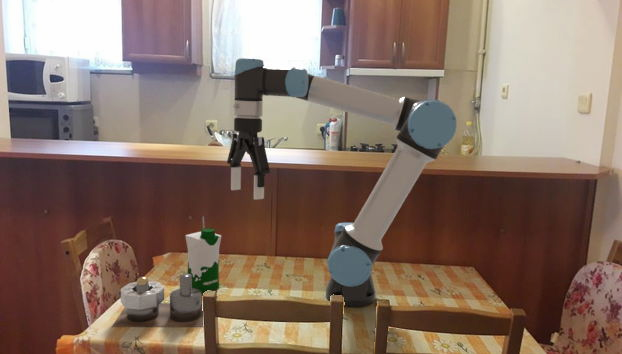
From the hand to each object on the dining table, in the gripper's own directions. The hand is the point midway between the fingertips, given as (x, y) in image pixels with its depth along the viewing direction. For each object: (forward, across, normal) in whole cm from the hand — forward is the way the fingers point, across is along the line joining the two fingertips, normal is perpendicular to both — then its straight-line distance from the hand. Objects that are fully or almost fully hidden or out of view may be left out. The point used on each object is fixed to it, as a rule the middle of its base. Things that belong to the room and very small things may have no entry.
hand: (246, 194), depth 134 cm
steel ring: (+27, -5, -28) cm, 39 cm away
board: (+32, -2, -22) cm, 39 cm away
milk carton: (+33, -14, -7) cm, 36 cm away
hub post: (+31, -5, -28) cm, 42 cm away
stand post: (+31, +1, -18) cm, 36 cm away
